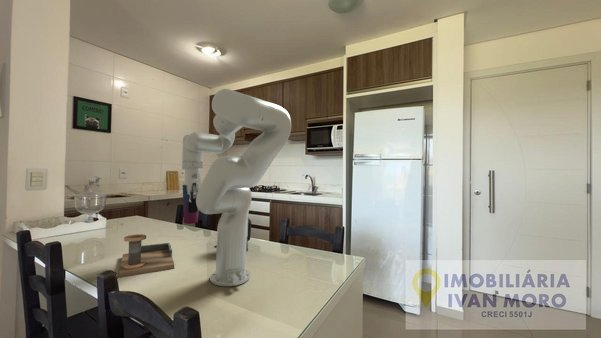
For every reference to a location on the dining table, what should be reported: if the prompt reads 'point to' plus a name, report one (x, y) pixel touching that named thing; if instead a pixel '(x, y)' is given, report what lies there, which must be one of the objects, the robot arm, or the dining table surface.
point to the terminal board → (145, 257)
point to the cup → (188, 217)
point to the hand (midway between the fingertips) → (191, 210)
